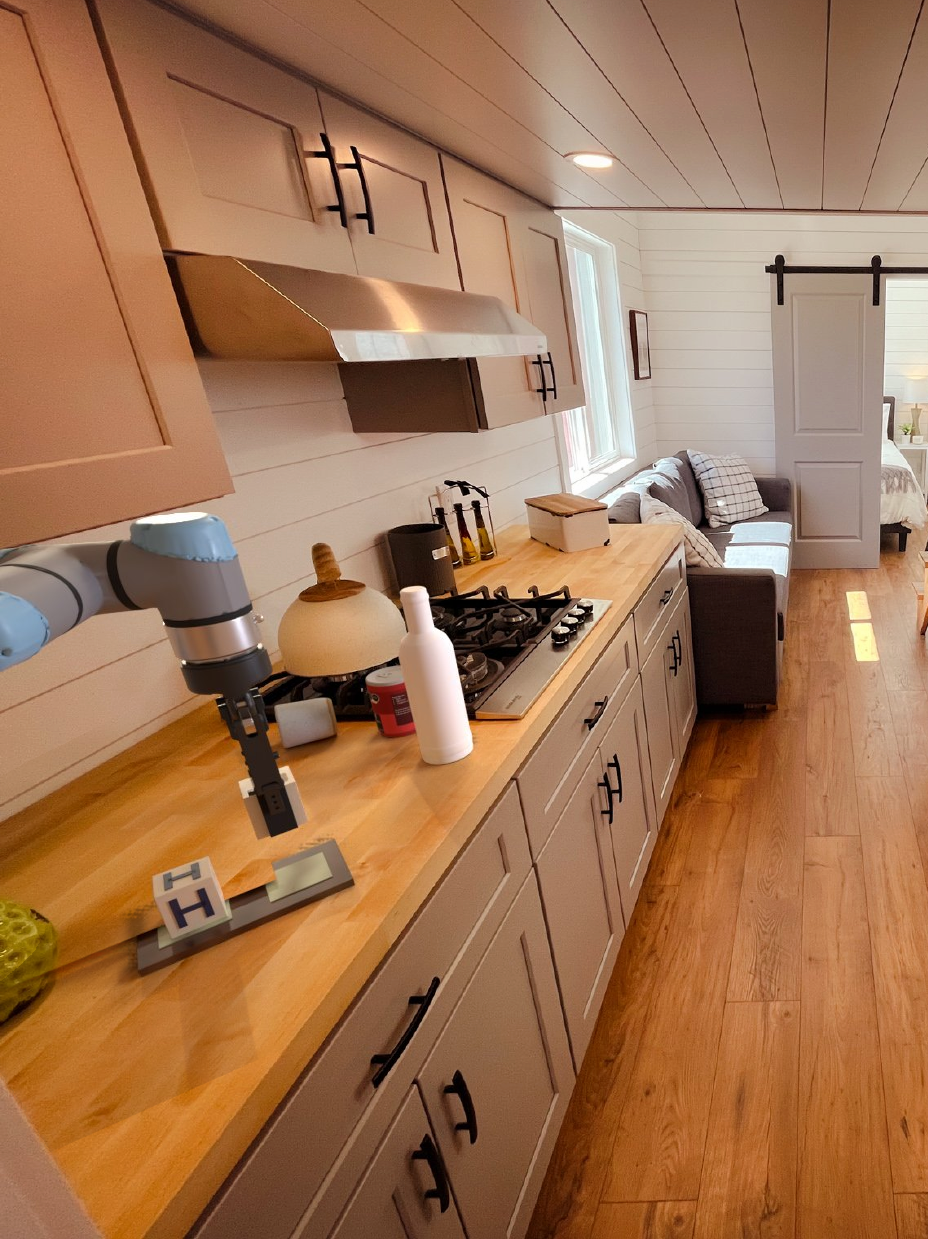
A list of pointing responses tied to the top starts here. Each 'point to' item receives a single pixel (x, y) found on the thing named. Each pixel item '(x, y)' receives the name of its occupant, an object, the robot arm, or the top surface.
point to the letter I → (255, 809)
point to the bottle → (432, 683)
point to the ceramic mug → (305, 721)
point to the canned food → (390, 702)
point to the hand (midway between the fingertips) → (280, 820)
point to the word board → (253, 906)
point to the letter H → (189, 897)
